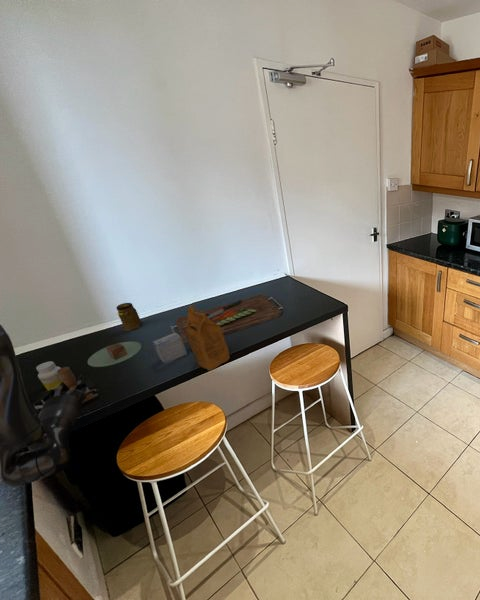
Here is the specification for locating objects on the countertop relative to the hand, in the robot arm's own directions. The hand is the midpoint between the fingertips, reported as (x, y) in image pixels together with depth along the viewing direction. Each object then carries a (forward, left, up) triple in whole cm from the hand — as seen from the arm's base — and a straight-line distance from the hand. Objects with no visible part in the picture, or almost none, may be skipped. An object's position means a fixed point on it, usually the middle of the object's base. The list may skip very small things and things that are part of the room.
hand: (74, 379), depth 97 cm
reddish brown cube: (+16, +15, -7) cm, 23 cm away
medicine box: (+26, -3, -8) cm, 27 cm away
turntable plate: (+16, +18, -8) cm, 25 cm away
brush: (-1, -3, -8) cm, 9 cm away
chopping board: (+55, +5, -8) cm, 56 cm away
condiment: (+30, +33, -8) cm, 45 cm away
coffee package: (+32, -18, -8) cm, 37 cm away
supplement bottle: (-2, +14, -8) cm, 16 cm away
